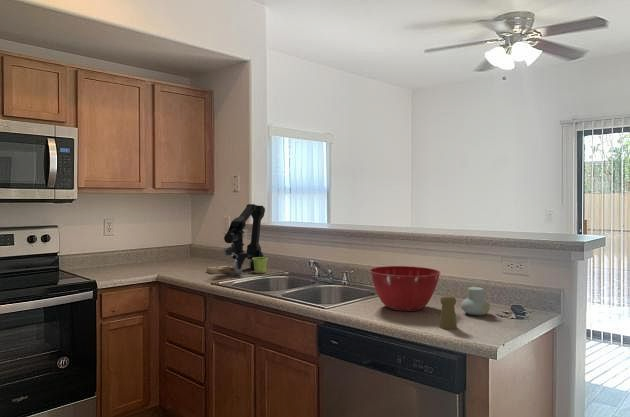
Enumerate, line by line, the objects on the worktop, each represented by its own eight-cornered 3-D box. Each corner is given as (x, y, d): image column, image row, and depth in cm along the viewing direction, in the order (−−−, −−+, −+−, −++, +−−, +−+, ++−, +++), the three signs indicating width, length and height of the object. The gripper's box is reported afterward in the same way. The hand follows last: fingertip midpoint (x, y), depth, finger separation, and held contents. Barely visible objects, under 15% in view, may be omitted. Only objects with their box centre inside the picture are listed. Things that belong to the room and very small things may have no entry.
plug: (239, 272, 286) (239, 258, 286) (242, 273, 283) (242, 259, 283) (233, 272, 284) (233, 259, 284) (236, 273, 281) (236, 259, 281)
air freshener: (473, 309, 197) (473, 285, 197) (492, 313, 191) (492, 288, 191) (458, 314, 190) (458, 288, 190) (478, 318, 184) (478, 291, 184)
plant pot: (271, 272, 290) (271, 258, 289) (261, 274, 282) (261, 259, 281) (259, 271, 295) (259, 256, 294) (248, 273, 287) (248, 258, 286)
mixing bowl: (385, 297, 221) (385, 263, 220) (448, 304, 206) (449, 268, 206) (358, 310, 197) (358, 271, 196) (427, 319, 182) (427, 278, 181)
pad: (242, 272, 290) (242, 271, 290) (248, 274, 282) (248, 273, 282) (228, 273, 285) (228, 272, 285) (233, 276, 278) (233, 275, 278)
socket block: (229, 270, 297) (229, 265, 297) (235, 273, 288) (235, 267, 288) (206, 272, 290) (206, 266, 290) (211, 274, 281) (211, 269, 281)
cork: (453, 324, 175) (454, 293, 175) (459, 329, 169) (459, 297, 168) (437, 324, 175) (437, 294, 174) (441, 329, 169) (442, 297, 168)
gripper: (219, 241, 287) (219, 267, 288) (229, 243, 271) (229, 272, 272) (237, 240, 293) (237, 266, 293) (248, 243, 276) (248, 270, 277)
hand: (238, 268), depth 284 cm, fingers closed on plug, 4 cm apart
